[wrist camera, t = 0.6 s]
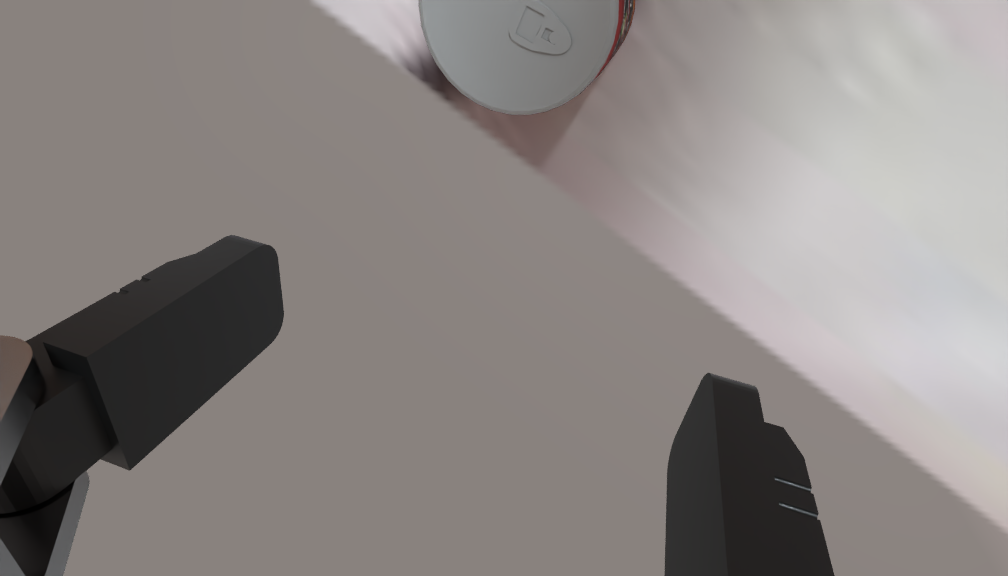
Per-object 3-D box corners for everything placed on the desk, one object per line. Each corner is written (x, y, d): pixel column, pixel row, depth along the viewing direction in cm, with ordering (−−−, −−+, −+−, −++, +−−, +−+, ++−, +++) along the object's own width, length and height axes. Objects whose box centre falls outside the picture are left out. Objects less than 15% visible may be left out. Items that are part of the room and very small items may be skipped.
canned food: (615, 89, 31) (589, 136, 22) (486, 60, 32) (410, 93, 23) (656, -68, 26) (646, -92, 17) (506, -94, 28) (422, -129, 19)
